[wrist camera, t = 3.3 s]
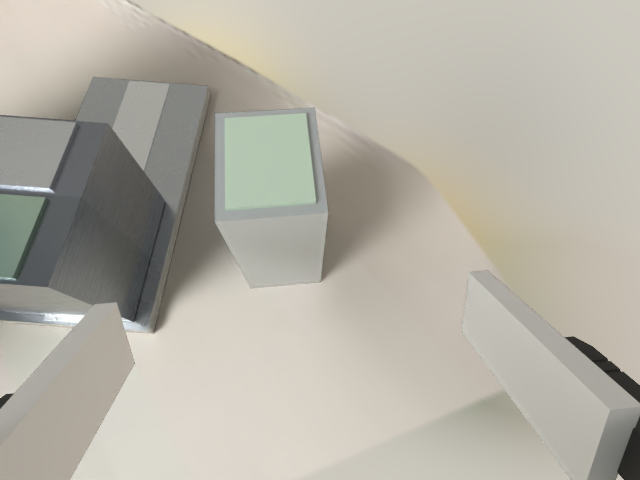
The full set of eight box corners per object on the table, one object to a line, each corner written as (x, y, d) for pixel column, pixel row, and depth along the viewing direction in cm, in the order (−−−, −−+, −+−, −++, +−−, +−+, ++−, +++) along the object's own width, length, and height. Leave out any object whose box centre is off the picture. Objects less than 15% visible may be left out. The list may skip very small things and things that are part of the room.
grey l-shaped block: (5, 322, 25) (-170, 281, 16) (99, 86, 33) (19, -31, 24) (153, 333, 25) (64, 299, 16) (210, 94, 33) (173, -20, 24)
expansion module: (250, 288, 26) (213, 219, 16) (248, 213, 28) (214, 110, 18) (320, 281, 26) (328, 210, 16) (312, 208, 29) (315, 104, 18)
